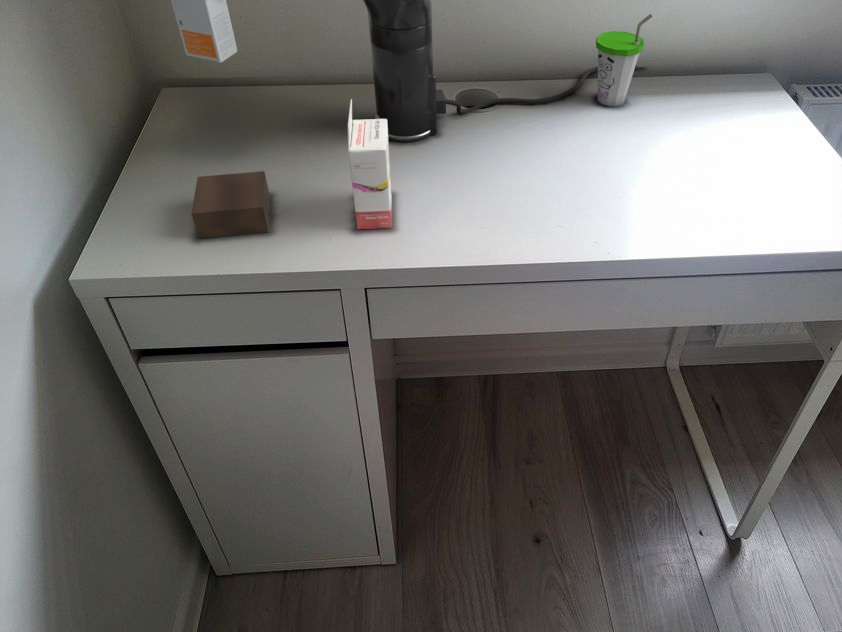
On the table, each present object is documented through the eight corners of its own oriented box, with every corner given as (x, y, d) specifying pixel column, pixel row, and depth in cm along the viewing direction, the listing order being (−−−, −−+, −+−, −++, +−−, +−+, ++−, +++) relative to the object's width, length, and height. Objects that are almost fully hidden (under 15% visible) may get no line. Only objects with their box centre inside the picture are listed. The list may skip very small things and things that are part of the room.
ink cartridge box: (393, 229, 96) (386, 127, 85) (356, 230, 95) (344, 129, 85) (393, 194, 102) (385, 95, 91) (358, 195, 101) (346, 96, 91)
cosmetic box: (185, 56, 99) (158, -37, 91) (204, 45, 102) (180, -47, 93) (221, 64, 98) (197, -31, 89) (239, 52, 100) (218, -41, 92)
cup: (578, 98, 123) (589, 8, 113) (610, 86, 127) (624, -3, 116) (610, 115, 119) (625, 23, 108) (643, 103, 122) (660, 12, 112)
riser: (269, 195, 101) (264, 170, 98) (268, 232, 95) (262, 207, 92) (204, 201, 100) (197, 176, 97) (199, 238, 94) (191, 213, 91)
